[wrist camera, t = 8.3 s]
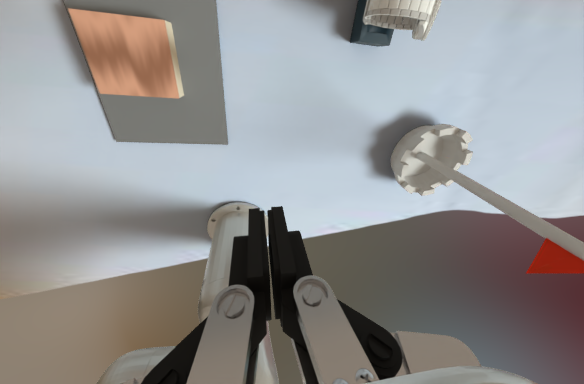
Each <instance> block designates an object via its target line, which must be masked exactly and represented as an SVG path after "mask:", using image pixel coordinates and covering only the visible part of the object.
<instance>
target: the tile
mask: <svg viewBox="0 0 584 384" xmlns="http://www.w3.org/2000/svg"><path fill="white" fill-rule="evenodd" d="M68 10H69V13H70V15H71V18H72V21H73V23H74V26H75V29H76V31H77V34H78V37H79V39H80V42H81V45H82V47H83V50H84V53H85V55H86V58H87V61H88V63H89V66H90V69H91V71H92V74H93V77H94V79H95V82H96V85H97V88H98V90H99V93H100V94H113V95H129V96H145V97H162V98H178V99H179V98H181V97H182V96H184V92H183V86H182V81H181V75H180V69H179V64H178V58H177V52H176V47H175V41H174V35H173V30H172V24H171V23H170V22H168V21H165V20H161V19H152V18H144V17H136V16H128V15H119V14H111V13H103V12H95V11H86V10H78V9H70V8H68Z"/></svg>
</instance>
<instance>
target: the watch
mask: <svg viewBox="0 0 584 384" xmlns="http://www.w3.org/2000/svg"><path fill="white" fill-rule="evenodd" d="M441 1H442V0H358V4H357V9H356V14H355V19H354V24H353V29H352V34H351V39H350V43H357V44H364V45H371V46H389V45H390V42H391V38H392V34H393V31H394V29H395V28H396V29H399V30H413V32H412V38H413V39H418V40H421V41H424V40H425V39H426V37H427V35H428V33H429V31H430V29H431V27H432V25H433V23H434V20H435V18H436V15H437V12H438V10H439V8H440V4H441ZM403 18H404V19H403Z"/></svg>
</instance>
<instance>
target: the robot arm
mask: <svg viewBox="0 0 584 384" xmlns="http://www.w3.org/2000/svg"><path fill="white" fill-rule="evenodd" d="M207 231H208V234H209V236H210V238H211V239H212V244H211V248H210V253H209V257H208V263H207V267H206V271H205V275H204V280H203V284H202V290H201V293H200V298H199V304H198V316H199V321H200V324H199V325H198V326H197V327H196V328H195V329H194V330H193V331H192V332H191V333H190V334H189V335H188V336H187V337H186V338H185V339H184V340H182V341H181V342H180V343H179V344H178V345H177V346H172V347H156V348H146V349H139V350H135V351H132V352H129V353H127V354H125V355H123V356H121V357H120V358H118V359H117V360H116V361H114V362H113V363H112V364H111V365H110V366H109V367H108V368H107V370H106V371H105V372H104V374H103V375H102V376H101V378H100V379H99V381H98V382H97V384H279V380H278V374H277V370H276V365H275V360H274V356H273V351H272V346H271V340H270V334H269V326H268V320H271V299H270V275H269V262H268V250H267V238H266V237H267V236H268V237H269V255H270V266H271V278H272V287H273V299H274V310H275V319H280V321H281V327H282V328H283V332H285V333H286V334H287V335H288V336H289V337H291V341H292V344H293V348H294V352H295V355H296V359H297V362H298V366H299V369H300V373H301V376H302V380H303V383H304V384H537V383H535V382H533V381H530V380H528V379H526V378H523V377H521V376H519V375H515V374H513V373H509V372H506V371H503V370H499V369H493V368H489V367H482V366H481V365H480V363H479V361H478V359H477V358H476V356H475V355H474V354H473V353H472V351H471V350H470V349H469V348H468V347H467V346H466V345H465V344H464V343H463V342H461V341H459V340H458V339H456V338H453V337H450V336H444V335H435V334H425V333H415V332H405V331H396V333H389V332H388V331H387V330H385V329H384V328H383V327H381V326H379V325H378V324H376V323H374V322H373V321H371V320H370V319H368V318H366V317H365V316H363V315H362V314H360V313H358V312H357V311H355V310H353V309H352V308H350V307H349V306H347V305H346V304H344V303H342V302H341V301H339V300H337V299H336V297H335V295H334V293H333V291H332V289H331V287H330V286H329V285H328V283H327V282H326V281H324V280H323V279H322V278H319V277H317V276H313V274H312V271H311V268H310V264H309V261H308V258H307V254H306V251H305V247H304V244H303V240H302V237H301V234H300V231H290V232H288V230H287V226H286V221H285V216H284V212H283V207H282V206H281V207H272V208H271V210H268V217H267V215H266V214H265V213H264V211H263V210H261V209H260V208H258V207H257V206H255V205H252V204H249V203H243V202H235V203H229V204H226V205H223V206H221V207H219V208H218V209H216V210H215V211H214V212H213V213H212V214H211V216H210V218H209V221H208V224H207Z"/></svg>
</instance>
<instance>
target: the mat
mask: <svg viewBox="0 0 584 384" xmlns="http://www.w3.org/2000/svg"><path fill="white" fill-rule="evenodd" d="M63 2H64V4H65V7H66V10H67V12H68V15H69V18H70V20H71V23H72V25H73V28H74V31H75V33H76V36H77V39H78V41H79V44H80V47H81V49H82V52H83V55H84V57H85V60H86V63H87V65H88V68H89V70H90V73H91V76H92V78H93V81H94V84H95V86H96V89H97V92H98V94H99V97H100V100H101V102H102V105H103V107H104V110H105V113H106V115H107V118H108V121H109V123H110V126H111V129H112V131H113V134H114V137H115V139H116V142H148V143H187V144H225V145H228V138H227V126H226V114H225V102H224V90H223V78H222V66H221V54H220V42H219V30H218V18H217V6H216V0H63ZM68 8H70V9H78V10H86V11H95V12H103V13H111V14H119V15H128V16H136V17H144V18H152V19H161V20H165V21H168V22H170V23H171V24H172V30H173V35H174V41H175V47H176V52H177V58H178V64H179V69H180V75H181V81H182V86H183V92H184V96H182V97H181V98H179V99H178V98H162V97H145V96H129V95H113V94H100V93H99V90H98V88H97V85H96V82H95V79H94V77H93V74H92V71H91V69H90V66H89V63H88V61H87V58H86V55H85V53H84V50H83V47H82V45H81V42H80V39H79V37H78V34H77V31H76V29H75V26H74V23H73V21H72V18H71V15H70V13H69V10H68Z"/></svg>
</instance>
